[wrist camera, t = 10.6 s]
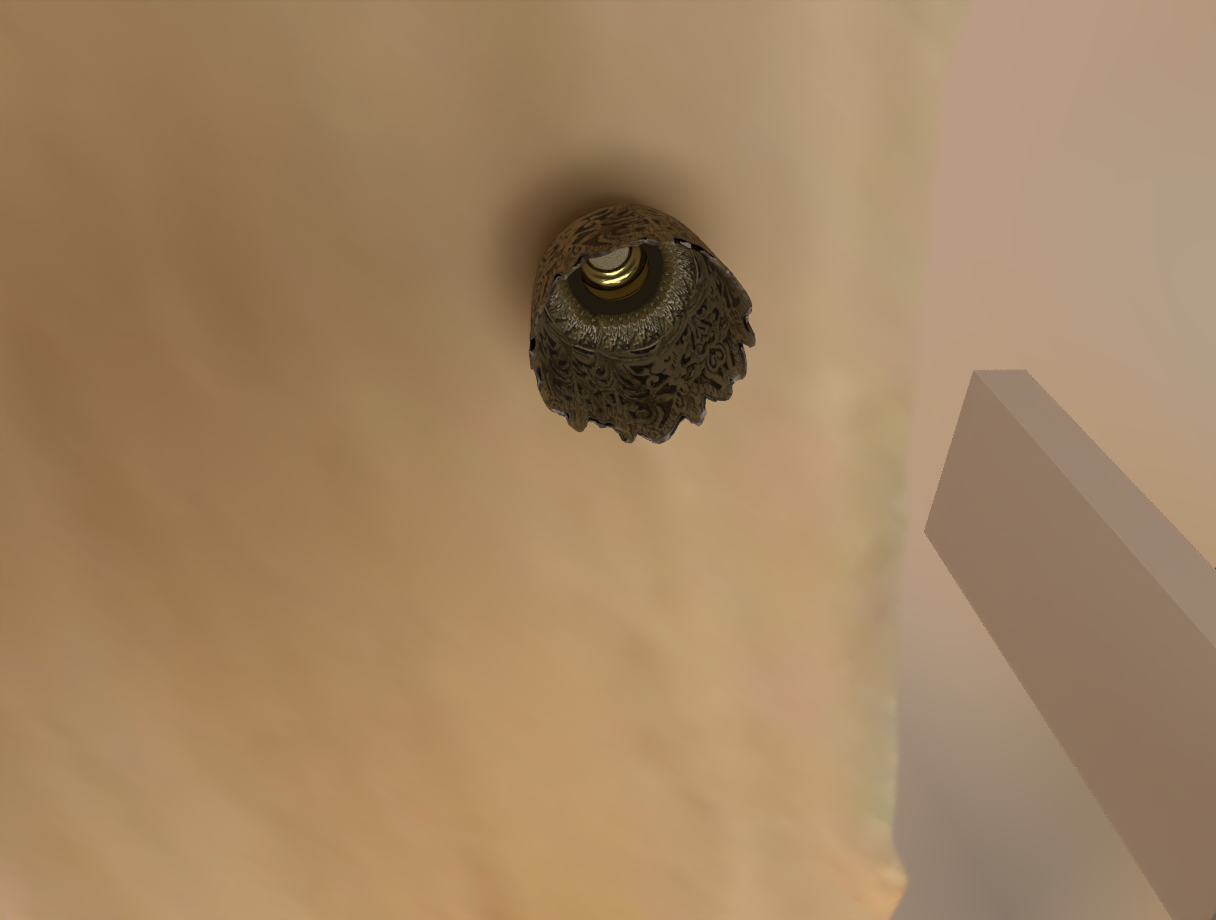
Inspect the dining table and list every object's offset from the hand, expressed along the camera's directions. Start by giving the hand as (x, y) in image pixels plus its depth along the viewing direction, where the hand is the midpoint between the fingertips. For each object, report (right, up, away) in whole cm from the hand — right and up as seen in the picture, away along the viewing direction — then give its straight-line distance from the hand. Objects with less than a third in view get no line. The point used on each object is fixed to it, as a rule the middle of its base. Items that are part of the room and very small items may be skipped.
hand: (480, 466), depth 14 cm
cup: (+2, +8, +28) cm, 29 cm away
